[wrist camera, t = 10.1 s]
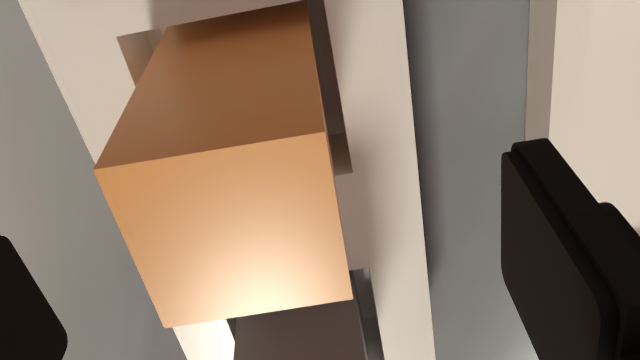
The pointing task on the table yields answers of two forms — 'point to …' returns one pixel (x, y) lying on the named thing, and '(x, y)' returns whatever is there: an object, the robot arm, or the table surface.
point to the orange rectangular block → (229, 171)
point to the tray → (589, 93)
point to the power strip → (342, 124)
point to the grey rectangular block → (304, 333)
